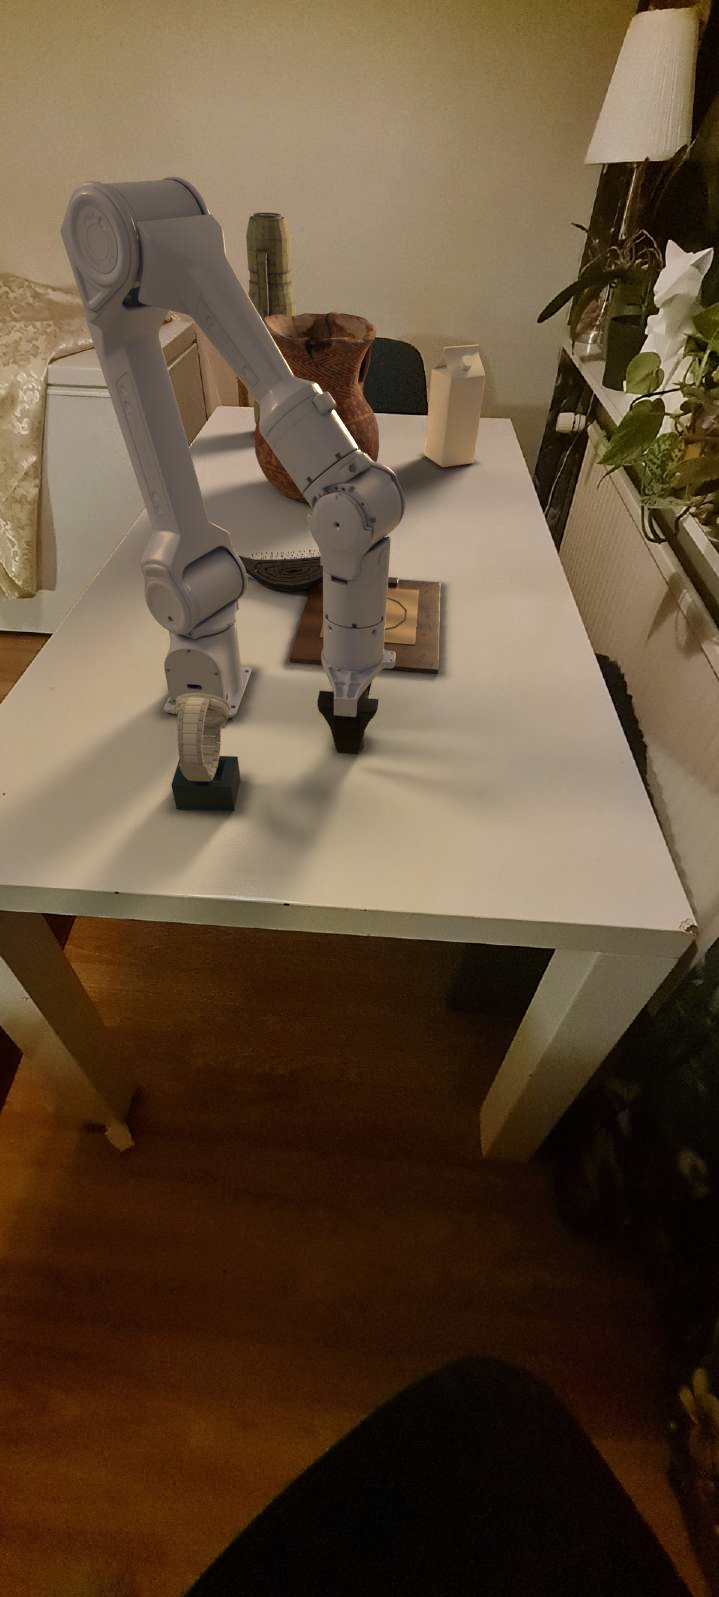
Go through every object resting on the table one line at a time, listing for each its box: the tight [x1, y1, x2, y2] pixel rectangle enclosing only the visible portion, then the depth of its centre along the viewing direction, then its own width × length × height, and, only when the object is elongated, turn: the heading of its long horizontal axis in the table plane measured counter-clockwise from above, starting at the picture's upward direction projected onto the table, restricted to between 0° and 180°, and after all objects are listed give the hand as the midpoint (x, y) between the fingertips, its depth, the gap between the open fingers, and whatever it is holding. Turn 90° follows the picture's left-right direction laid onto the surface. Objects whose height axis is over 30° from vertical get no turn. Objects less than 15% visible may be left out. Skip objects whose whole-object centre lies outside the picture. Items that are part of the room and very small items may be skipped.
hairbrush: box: [237, 549, 323, 592], centre depth 99 cm, size 8×4×25 cm
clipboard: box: [288, 576, 441, 674], centre depth 93 cm, size 22×18×1 cm
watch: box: [170, 693, 241, 812], centre depth 65 cm, size 6×8×11 cm
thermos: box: [245, 212, 297, 424], centre depth 132 cm, size 9×12×35 cm
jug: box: [254, 311, 380, 503], centre depth 116 cm, size 22×21×25 cm
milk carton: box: [423, 344, 486, 468], centre depth 131 cm, size 7×7×19 cm
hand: (351, 729), depth 73 cm, fingers open, 6 cm apart
